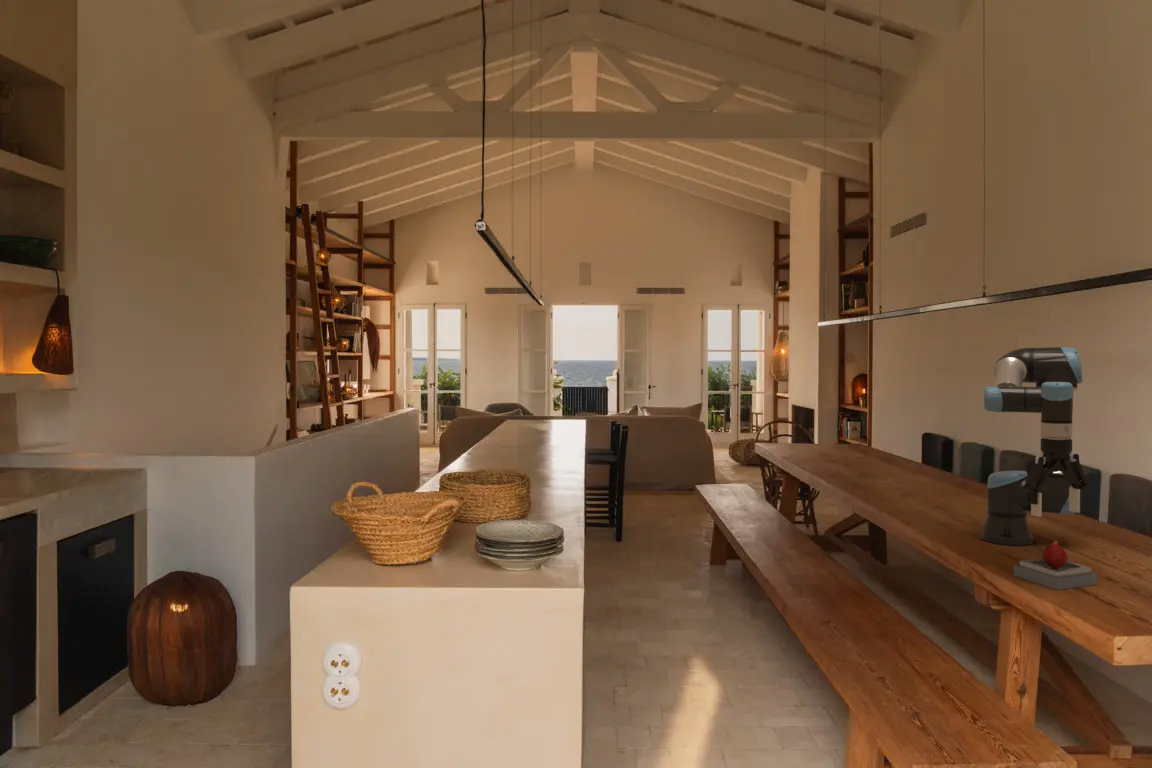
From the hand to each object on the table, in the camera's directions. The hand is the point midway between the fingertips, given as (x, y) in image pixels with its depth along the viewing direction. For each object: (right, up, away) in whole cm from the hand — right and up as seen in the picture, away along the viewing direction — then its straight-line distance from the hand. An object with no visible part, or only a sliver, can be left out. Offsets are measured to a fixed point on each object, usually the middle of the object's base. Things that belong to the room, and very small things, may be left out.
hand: (1055, 513), depth 219 cm
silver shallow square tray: (0, -19, +1) cm, 19 cm away
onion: (0, -16, +1) cm, 16 cm away
